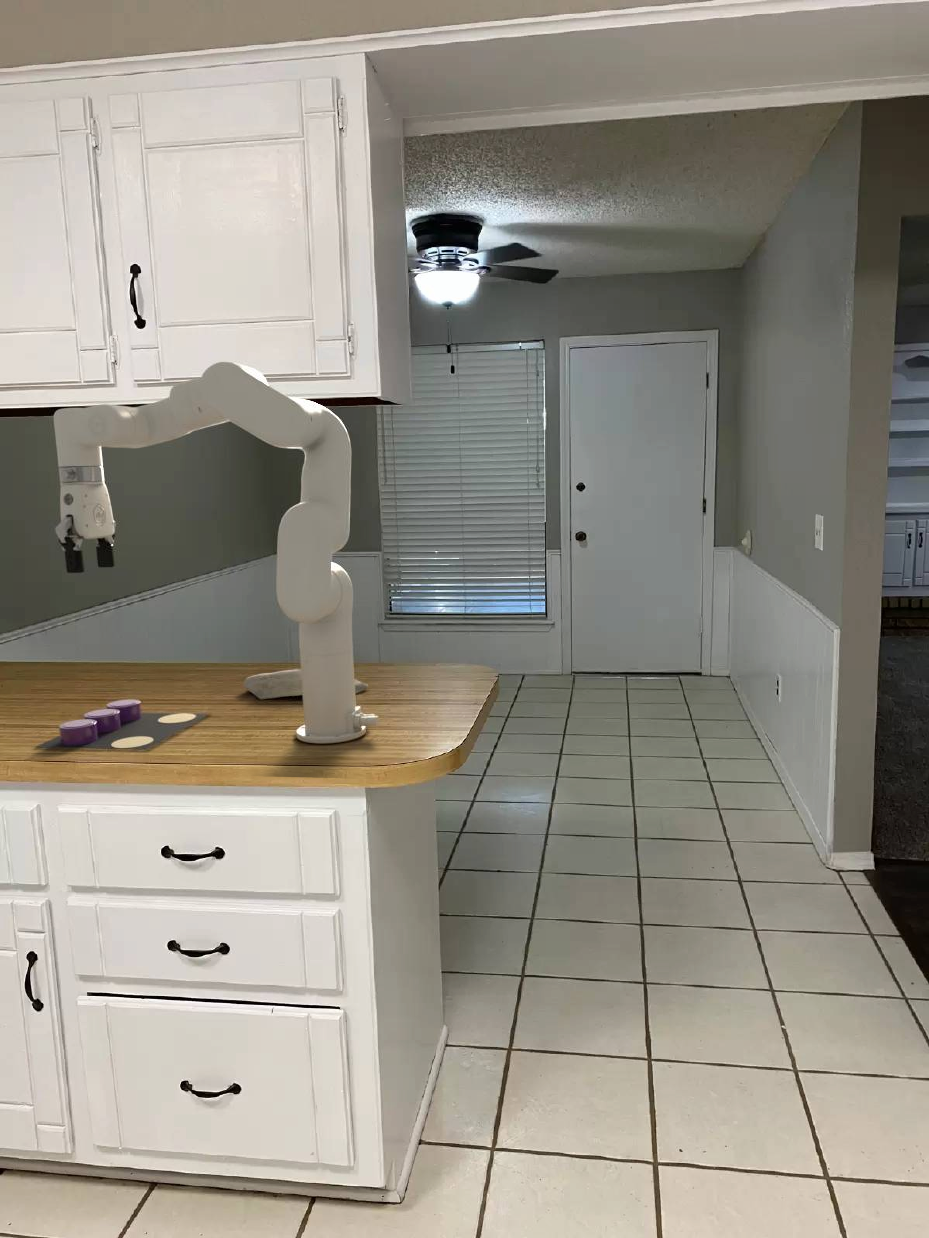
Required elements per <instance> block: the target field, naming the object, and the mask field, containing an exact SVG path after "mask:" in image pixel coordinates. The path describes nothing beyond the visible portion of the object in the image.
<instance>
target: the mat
mask: <svg viewBox="0 0 929 1238" xmlns="http://www.w3.org/2000/svg"><path fill="white" fill-rule="evenodd" d="M141 713H142V717H141V718H140V719H138V720H135V721H131V722H125V723H121V728H120V729H118V730H116V731H112V732H108V733H101V734H98V739H97V740H96V741H94V742H91V743H87V744H83V745H74V746H67V745H62V744H61V741H60V735H59V736H57V737H54V738H52V739H50V740H48V741H46V742H43V743H42V744H39V745H37V746H36V748H38V749H39V748H41V749H42V748H43V749H44V748H46V749H48V748H49V749H91V750H92V749H93V750H95V749H98V750H99V749H100V750H143V751H144V750H149V749H150V748H152V747H154V746H156V745H157V744H159V743H161V742H163V741H165V740H166V739H168V738H170V737H171V736H174V735H175V734H176V733H179V732H180V731H182V730H184V729H185V728H187V727H189V726H191V725H192V724H195V723H196V722H199V721H200V720H202V719H204V718H205V717H207V716H209V715H210V714H209V713H187V712H185V713H162V712H159V713H157V712H155V713H152V712H150V713H149V712H141Z"/></svg>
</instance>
